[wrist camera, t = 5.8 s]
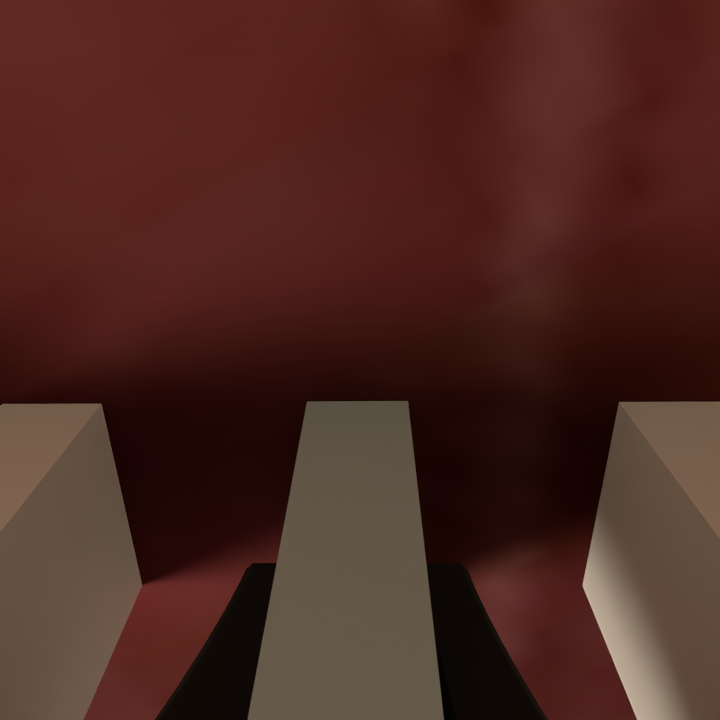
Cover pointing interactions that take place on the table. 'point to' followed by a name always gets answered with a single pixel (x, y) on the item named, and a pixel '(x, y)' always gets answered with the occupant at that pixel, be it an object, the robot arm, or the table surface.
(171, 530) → the table surface
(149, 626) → the table surface
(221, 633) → the robot arm
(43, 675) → the domino
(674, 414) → the domino
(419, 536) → the domino
